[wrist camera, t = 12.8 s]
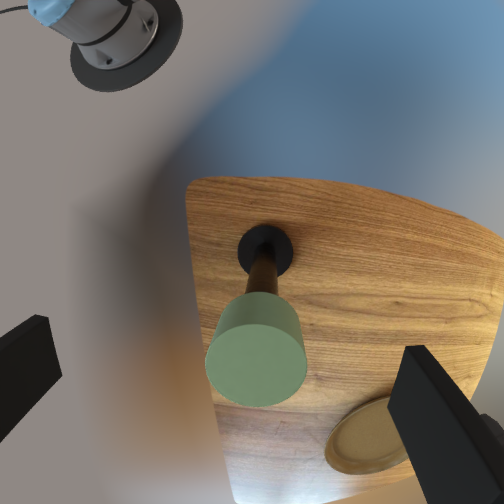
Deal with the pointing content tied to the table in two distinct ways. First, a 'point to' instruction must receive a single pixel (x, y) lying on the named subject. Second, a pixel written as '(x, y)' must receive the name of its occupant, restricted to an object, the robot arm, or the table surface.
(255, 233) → the stand
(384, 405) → the plant saucer
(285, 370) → the sage green cylinder
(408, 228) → the table surface
